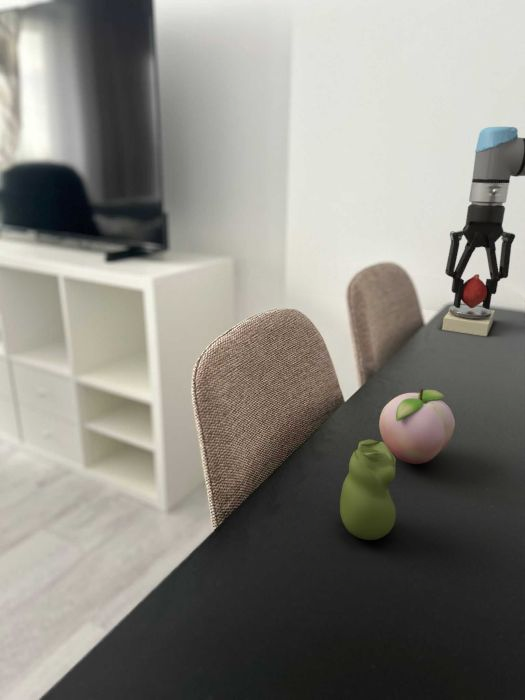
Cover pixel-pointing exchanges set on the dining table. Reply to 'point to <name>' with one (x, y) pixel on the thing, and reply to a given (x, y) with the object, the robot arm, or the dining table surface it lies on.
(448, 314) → the scale
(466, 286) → the onion
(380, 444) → the pear
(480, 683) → the dining table surface
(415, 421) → the decorative fruit
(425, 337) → the dining table surface
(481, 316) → the scale platform
